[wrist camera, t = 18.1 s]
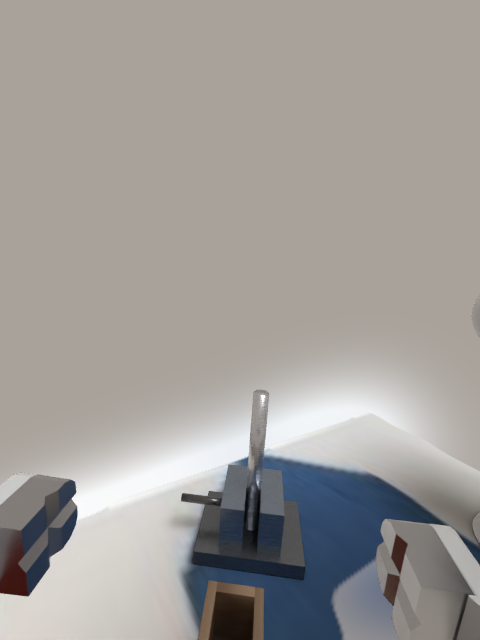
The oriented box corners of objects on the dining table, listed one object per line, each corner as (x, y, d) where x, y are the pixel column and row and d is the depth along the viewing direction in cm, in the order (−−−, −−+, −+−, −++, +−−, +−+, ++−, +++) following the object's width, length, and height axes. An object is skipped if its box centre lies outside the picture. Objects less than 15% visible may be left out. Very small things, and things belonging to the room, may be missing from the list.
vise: (295, 512, 46) (311, 382, 42) (303, 579, 37) (324, 419, 32) (190, 499, 48) (194, 371, 43) (170, 560, 38) (172, 404, 34)
